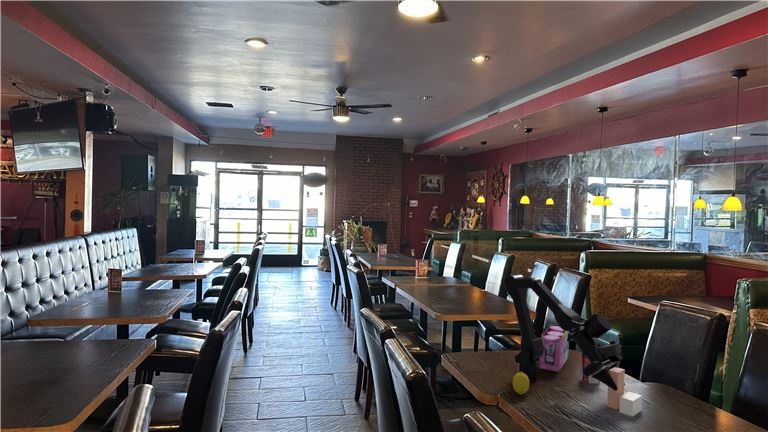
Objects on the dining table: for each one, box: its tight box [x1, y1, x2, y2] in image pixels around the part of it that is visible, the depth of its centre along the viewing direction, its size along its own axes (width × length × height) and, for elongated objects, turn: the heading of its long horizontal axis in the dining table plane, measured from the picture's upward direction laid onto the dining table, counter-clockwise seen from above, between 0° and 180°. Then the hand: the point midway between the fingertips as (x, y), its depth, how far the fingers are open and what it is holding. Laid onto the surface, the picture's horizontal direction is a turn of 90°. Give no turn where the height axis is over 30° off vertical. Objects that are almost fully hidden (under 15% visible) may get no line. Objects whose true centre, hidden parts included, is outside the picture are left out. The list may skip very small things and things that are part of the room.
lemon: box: [512, 372, 530, 396], centre depth 163 cm, size 6×6×8 cm
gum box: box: [539, 323, 570, 373], centre depth 197 cm, size 24×8×14 cm, turn 150°
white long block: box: [617, 391, 643, 417], centre depth 156 cm, size 18×7×6 cm, turn 41°
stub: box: [606, 367, 626, 411], centre depth 154 cm, size 3×5×12 cm, turn 131°
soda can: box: [579, 351, 601, 385], centre depth 176 cm, size 7×7×12 cm
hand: (620, 387), depth 153 cm, fingers closed on stub, 5 cm apart
